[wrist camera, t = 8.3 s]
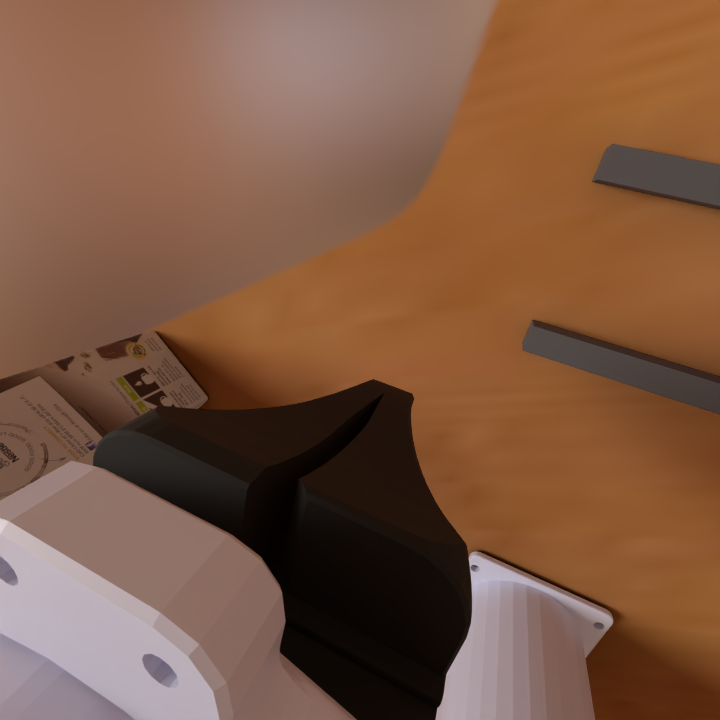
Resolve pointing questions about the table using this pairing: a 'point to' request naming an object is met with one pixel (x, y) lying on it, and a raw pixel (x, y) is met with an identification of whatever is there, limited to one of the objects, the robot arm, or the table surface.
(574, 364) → the guide channel
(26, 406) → the coffee box
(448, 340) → the table surface
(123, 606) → the robot arm
